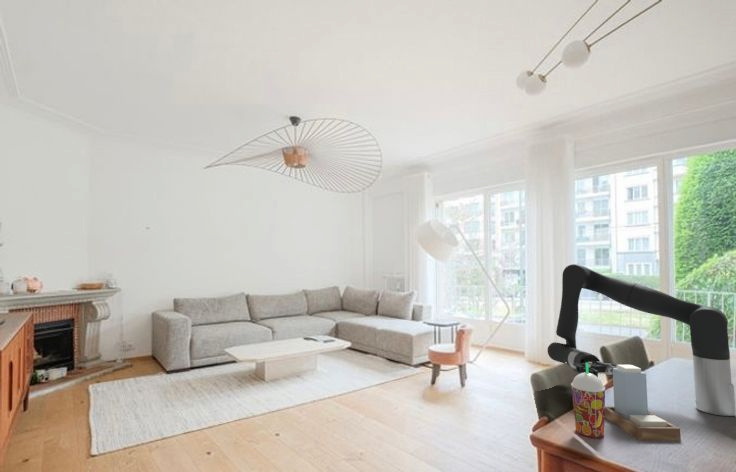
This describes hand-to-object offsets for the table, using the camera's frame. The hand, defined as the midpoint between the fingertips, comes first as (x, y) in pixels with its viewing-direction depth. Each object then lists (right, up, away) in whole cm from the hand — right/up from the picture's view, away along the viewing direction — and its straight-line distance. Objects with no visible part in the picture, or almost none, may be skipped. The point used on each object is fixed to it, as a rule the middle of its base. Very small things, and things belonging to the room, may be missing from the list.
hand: (610, 374), depth 126 cm
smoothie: (-17, -11, -18) cm, 27 cm away
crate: (0, -11, -14) cm, 18 cm away
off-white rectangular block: (0, -10, -18) cm, 20 cm away
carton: (0, -11, -11) cm, 15 cm away
